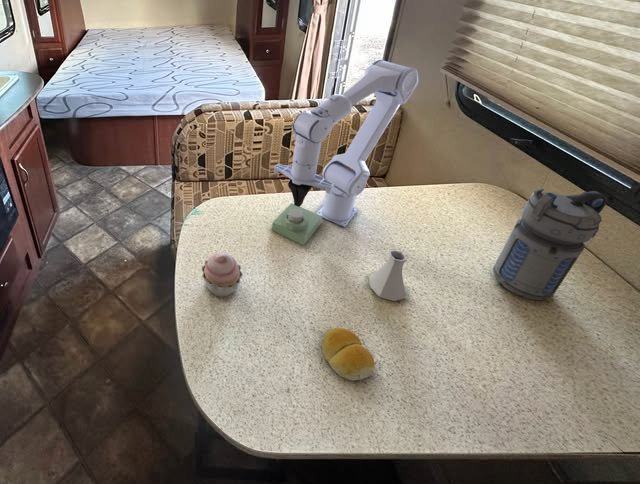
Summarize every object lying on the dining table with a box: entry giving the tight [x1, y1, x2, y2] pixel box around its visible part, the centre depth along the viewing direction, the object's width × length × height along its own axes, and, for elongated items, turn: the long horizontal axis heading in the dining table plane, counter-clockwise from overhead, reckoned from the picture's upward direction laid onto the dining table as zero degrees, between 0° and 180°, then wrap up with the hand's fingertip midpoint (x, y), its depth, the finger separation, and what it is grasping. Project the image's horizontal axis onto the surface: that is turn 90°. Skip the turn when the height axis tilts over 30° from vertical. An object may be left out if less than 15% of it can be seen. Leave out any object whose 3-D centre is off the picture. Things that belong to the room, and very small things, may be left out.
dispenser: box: [271, 202, 323, 246], centre depth 101 cm, size 11×9×4 cm
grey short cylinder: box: [288, 209, 303, 223], centre depth 98 cm, size 4×4×2 cm
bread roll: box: [321, 327, 376, 382], centre depth 69 cm, size 8×9×4 cm
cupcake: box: [201, 252, 244, 298], centre depth 83 cm, size 9×9×10 cm
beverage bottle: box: [492, 188, 609, 301], centre depth 77 cm, size 10×13×25 cm
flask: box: [368, 249, 408, 302], centre depth 81 cm, size 7×7×10 cm
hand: (298, 204), depth 96 cm, fingers closed
